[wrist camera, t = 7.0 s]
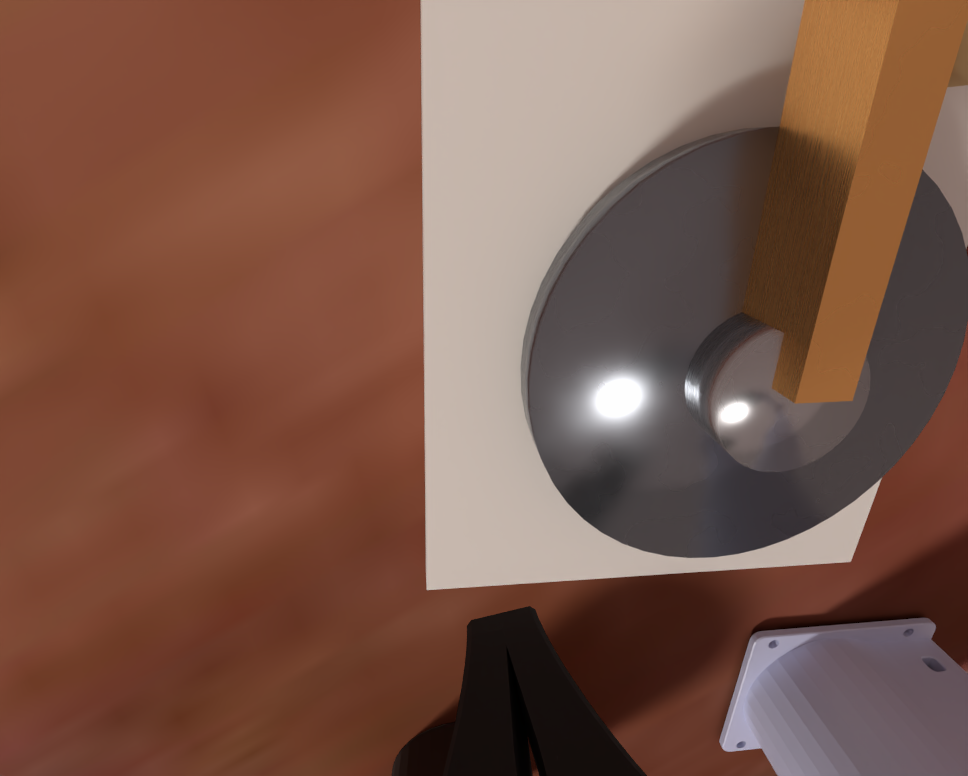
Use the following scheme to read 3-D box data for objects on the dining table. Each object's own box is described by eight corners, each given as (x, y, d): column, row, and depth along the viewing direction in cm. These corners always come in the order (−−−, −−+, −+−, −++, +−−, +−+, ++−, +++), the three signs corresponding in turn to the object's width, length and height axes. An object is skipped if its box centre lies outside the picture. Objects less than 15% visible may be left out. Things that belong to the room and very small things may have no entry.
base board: (1021, 11, 17) (1283, -47, 12) (834, 546, 25) (943, 648, 20) (419, -37, 14) (427, -134, 9) (425, 571, 22) (431, 694, 17)
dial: (860, 518, 22) (963, 603, 18) (513, 544, 20) (540, 644, 16) (1047, -33, 15) (1288, -101, 11) (537, -64, 13) (596, -157, 9)
